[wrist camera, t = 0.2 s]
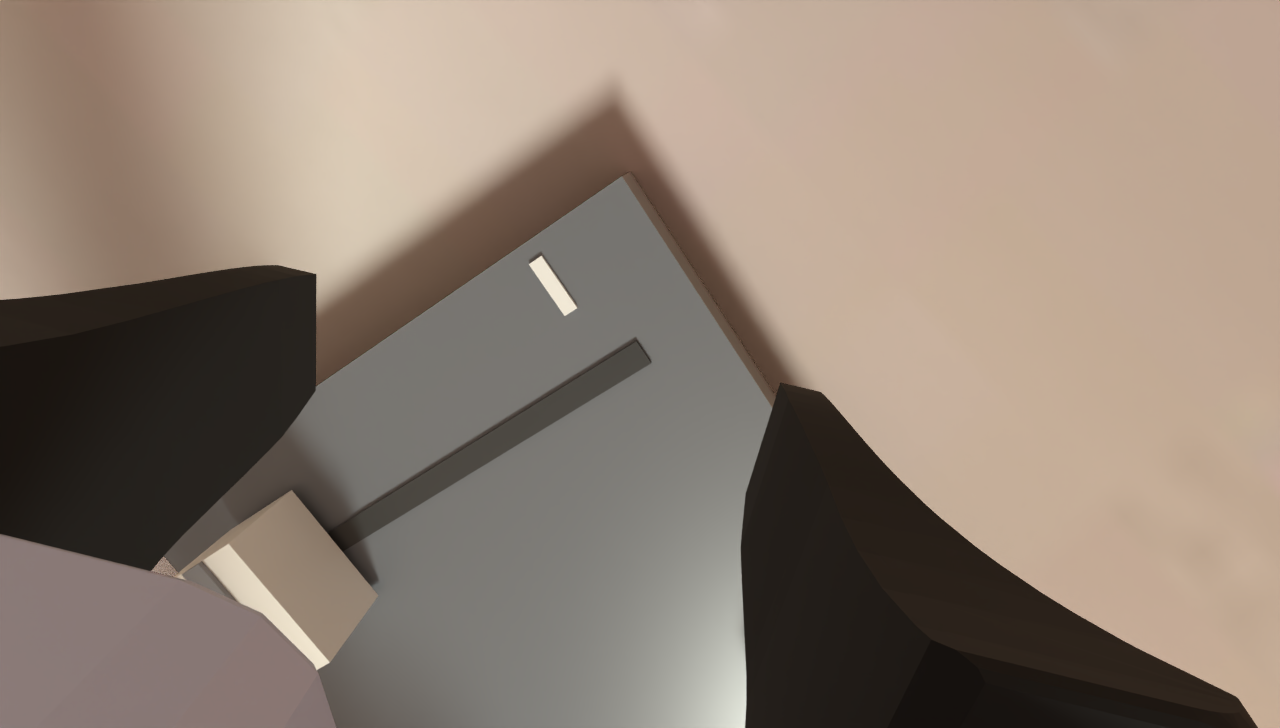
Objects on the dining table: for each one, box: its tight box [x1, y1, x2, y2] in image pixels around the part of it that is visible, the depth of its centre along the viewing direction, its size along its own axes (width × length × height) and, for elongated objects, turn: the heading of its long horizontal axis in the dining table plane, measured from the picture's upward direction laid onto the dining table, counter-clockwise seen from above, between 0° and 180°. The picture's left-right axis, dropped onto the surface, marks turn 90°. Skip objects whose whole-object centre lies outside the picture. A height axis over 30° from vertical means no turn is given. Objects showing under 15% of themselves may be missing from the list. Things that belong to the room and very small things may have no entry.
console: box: [164, 172, 776, 728], centre depth 24 cm, size 18×21×2 cm
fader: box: [174, 490, 378, 670], centre depth 21 cm, size 2×4×3 cm, turn 34°
